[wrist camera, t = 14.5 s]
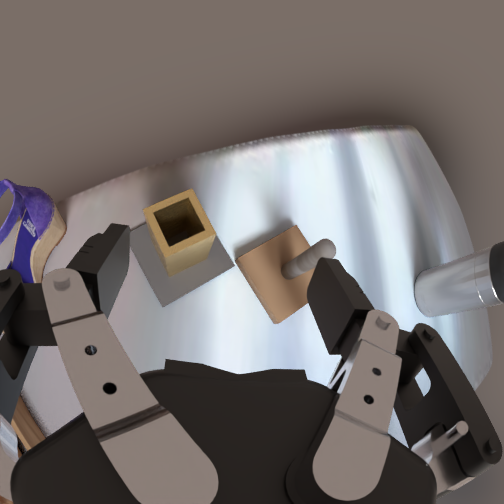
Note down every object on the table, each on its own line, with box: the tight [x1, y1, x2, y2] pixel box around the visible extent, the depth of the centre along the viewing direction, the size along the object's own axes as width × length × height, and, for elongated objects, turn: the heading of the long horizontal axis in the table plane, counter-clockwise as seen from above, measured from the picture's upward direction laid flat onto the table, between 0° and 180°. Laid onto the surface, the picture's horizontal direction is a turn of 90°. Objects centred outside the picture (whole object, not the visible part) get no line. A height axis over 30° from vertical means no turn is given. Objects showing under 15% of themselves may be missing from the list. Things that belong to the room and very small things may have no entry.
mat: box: [130, 223, 235, 307], centre depth 37 cm, size 11×11×1 cm
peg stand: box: [235, 225, 336, 324], centre depth 34 cm, size 10×10×13 cm
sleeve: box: [143, 189, 216, 277], centre depth 32 cm, size 6×6×10 cm
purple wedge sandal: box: [0, 179, 67, 334], centre depth 24 cm, size 8×20×15 cm, turn 148°
